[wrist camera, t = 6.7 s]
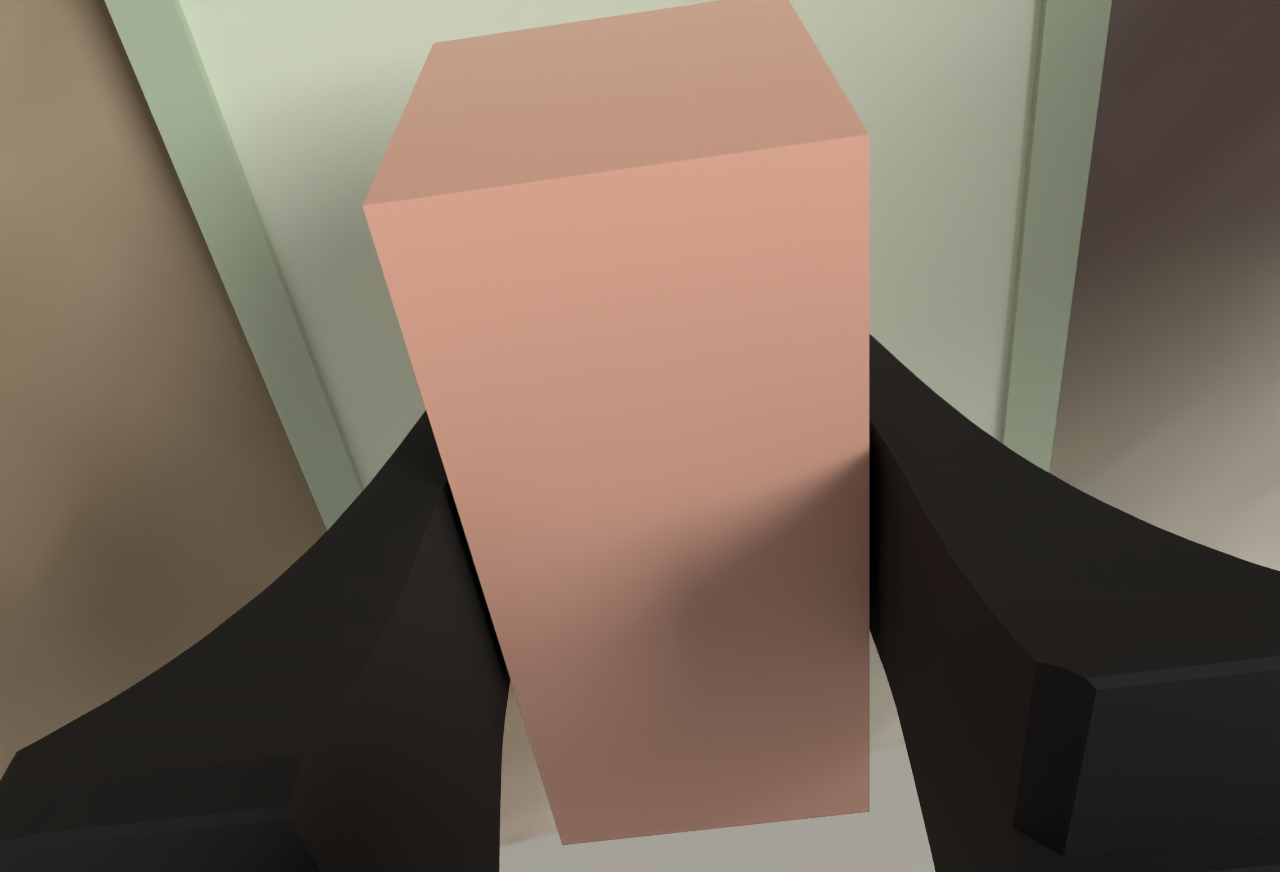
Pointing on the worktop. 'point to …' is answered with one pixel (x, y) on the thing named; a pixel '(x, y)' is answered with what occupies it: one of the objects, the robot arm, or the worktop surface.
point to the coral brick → (652, 399)
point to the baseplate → (495, 3)
